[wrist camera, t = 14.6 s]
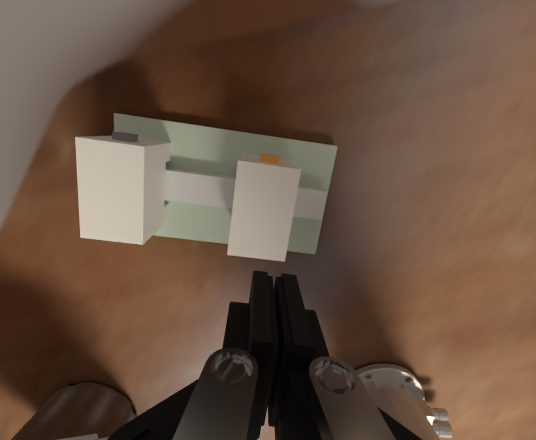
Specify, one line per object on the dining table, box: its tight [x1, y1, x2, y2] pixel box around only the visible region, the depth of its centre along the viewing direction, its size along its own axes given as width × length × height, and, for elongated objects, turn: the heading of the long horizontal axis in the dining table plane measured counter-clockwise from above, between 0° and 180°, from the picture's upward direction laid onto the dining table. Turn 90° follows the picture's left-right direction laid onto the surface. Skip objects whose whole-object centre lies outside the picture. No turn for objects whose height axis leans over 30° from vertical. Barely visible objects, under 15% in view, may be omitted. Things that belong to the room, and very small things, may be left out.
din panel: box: [75, 113, 338, 254], centre depth 27 cm, size 22×12×8 cm, turn 82°
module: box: [227, 153, 301, 262], centre depth 27 cm, size 5×9×7 cm, turn 172°
